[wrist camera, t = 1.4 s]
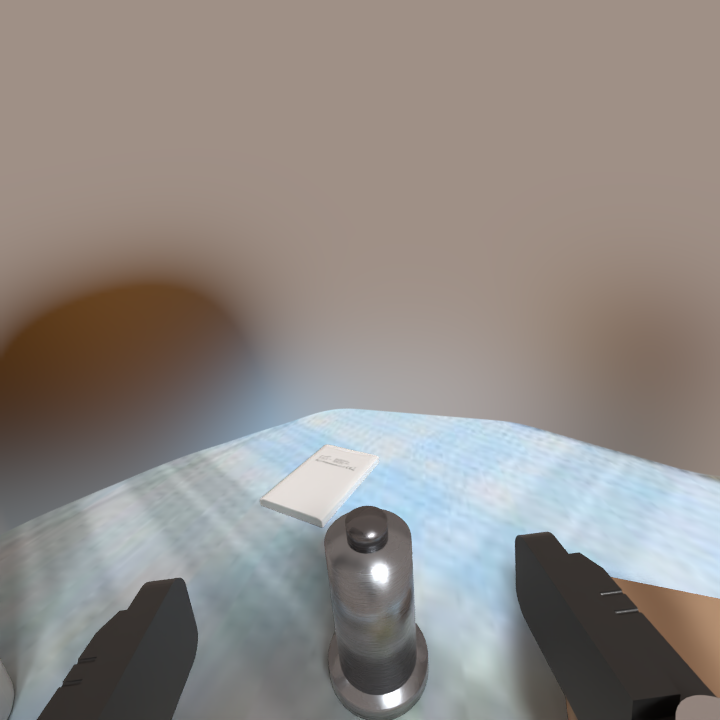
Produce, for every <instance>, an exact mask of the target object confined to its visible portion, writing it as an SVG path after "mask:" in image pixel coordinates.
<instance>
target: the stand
mask: <svg viewBox="0 0 720 720" xmlns="http://www.w3.org/2000/svg"><path fill="white" fill-rule="evenodd" d="M611 578H612V579H613V580H614V581H615V582H616V584H617V585H618V586H619V587H620V588H621V589H622V592H623V594H626V595H627V596H628V597H629V598H630V600H631V601H632V602H633V603H634V604H635V605H636V606H637V608H638V611H639V612H642V613H643V614H644V615H645V617H646V618H647V619H648V620H649V621H650V622H651V623H652V625H653V626H654V627H655V628H656V629H657V630H658V631H659V633H660V634H661V635H662V636H663V637H664V638H665V639H666V641H667V642H668V643H669V644H670V645H671V646H672V647H673V648H674V650H675V651H676V652H677V653H678V654H679V655H680V656H681V658H682V659H683V660H684V661H685V662H686V663H687V664H688V666H689V667H690V668H691V669H692V670H693V671H694V672H695V674H696V675H697V676H698V677H699V678H700V679H701V680H702V681H703V683H704V684H705V685H706V686H707V687H708V688H709V689H710V690H711V691H712V692H713V693H714V695H715V696H716V697H718V698H720V599H718V598H713V597H708V596H703V595H698V594H693V593H688V592H683V591H678V590H673V589H668V588H663V587H658V586H653V585H648V584H643V583H638V582H633V581H628V580H623V579H618V578H613V577H611ZM565 698H566V696H565ZM566 705H567V713H568V720H578V719H577V717H576V715H575V714H574V712H573V710H572V708H571V706H570V704H569V702H568V700H567V698H566Z"/></svg>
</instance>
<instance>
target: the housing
mask: <svg viewBox="0 0 720 720" xmlns="http://www.w3.org/2000/svg"><path fill="white" fill-rule="evenodd" d="M324 546H325V554H326V561H327V569H328V577H329V584H330V592H331V600H332V607H333V615H334V623H335V630H336V631H335V633H334V635H333V637H332V640H331V643H330V647H329V654H328V663H329V670H330V677H331V682H332V686H333V689H334V691H335V693H336V695H337V697H338V699H339V700H340V702H341V703H342V704H343V705H344V706H345V707H346V708H347V709H348V710H349V711H350V712H352V713H353V714H355V715H356V716H358V717H360V718H363V719H366V720H392V719H395V718H398V717H400V716H401V715H403V714H405V713H406V712H408V711H409V710H410V709H411V708H412V707H413V706H414V705H415V704H416V703H417V701H418V700H419V699H420V697H421V695H422V693H423V691H424V689H425V686H426V682H427V678H428V651H427V645H426V641H425V638H424V636H423V633H422V632H421V630H420V628H419V627H418V625H417V624H416V623H415V605H414V584H413V562H412V541H411V533H410V529H409V527H408V526H407V524H406V523H405V522H404V521H403V520H402V519H401V518H400V517H399V516H397V515H396V514H394V513H392V512H389V511H386V510H382V509H379V508H377V507H373V506H362V507H358V508H356V509H354V510H352V511H351V512H349V513H347V514H345V515H343V516H341V517H340V518H338V519H337V520H336V521H335V522H334V523H333V524H332V525H331V526H330V527H329V529H328V531H327V533H326V536H325V541H324Z"/></svg>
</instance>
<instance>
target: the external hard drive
mask: <svg viewBox="0 0 720 720" xmlns="http://www.w3.org/2000/svg"><path fill="white" fill-rule="evenodd" d="M378 463H379V457H377V456H375V455H371V454H367V453H363V452H358V451H354V450H349V449H345V448H341V447H337V446H332V445H324V446H323V447H322V448H321V449H320V450H319V451H317V452H316V453H315V454H314V455H312V456H311V457H310V458H309V459H308V460H306V461H305V462H304V463H303V464H302V465H300V466H299V467H298V468H297V469H296V470H294V471H293V472H292V473H291V474H290V475H288V476H287V477H286V478H285V479H283V480H282V481H281V482H280V483H279V484H277V485H276V486H275V487H274V488H273V489H272V490H270V491H269V492H268V493H267V494H266V495H264V496H263V497H262V498H261V499H260V502H261V506H263V507H266V508H269V509H272V510H275V511H277V512H280V513H283V514H286V515H288V516H291V517H294V518H297V519H299V520H302V521H305V522H308V523H310V524H313V525H316V526H319V527H321V528H323V527H324V526H325V525H326V524H327V522H328V521H329V520H330V519H331V518H332V517H333V515H334V514H335V513H336V512H337V511H338V510H339V508H340V507H341V506H342V505H343V504H344V503H345V502H346V500H347V499H348V498H349V497H350V496H351V495H352V493H353V492H354V491H355V490H356V489H357V488H358V486H359V485H360V484H361V483H362V482H363V481H364V480H365V478H366V477H367V476H368V475H369V474H370V473H371V471H372V470H373V469H374V468H375V467H376V466H377V465H378Z"/></svg>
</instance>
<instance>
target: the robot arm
mask: <svg viewBox="0 0 720 720" xmlns="http://www.w3.org/2000/svg"><path fill="white" fill-rule="evenodd" d="M515 563H516V592H517V597H518V601H519V605H520V608H521V611H522V613H523V616H524V618H525V620H526V622H527V624H528V626H529V628H530V630H531V632H532V633H533V635H534V637H535V639H536V641H537V643H538V645H539V647H540V649H541V651H542V653H543V654H544V656H545V658H546V660H547V662H548V664H549V666H550V668H551V670H552V672H553V674H554V675H555V677H556V679H557V681H558V683H559V685H560V687H561V689H562V691H563V693H564V694H565V696H566V698H567V700H568V702H569V704H570V706H571V708H572V710H573V712H574V714H575V715H576V717H577V719H578V720H720V698H718V697H716V696H715V695H714V693H713V692H712V691H711V690H710V689H709V688H708V687H707V686H706V685H705V684H704V683H703V681H702V680H701V679H700V678H699V677H698V676H697V675H696V674H695V672H694V671H693V670H692V669H691V668H690V667H689V666H688V664H687V663H686V662H685V661H684V660H683V659H682V658H681V656H680V655H679V654H678V653H677V652H676V651H675V650H674V648H673V647H672V646H671V645H670V644H669V643H668V642H667V641H666V639H665V638H664V637H663V636H662V635H661V634H660V633H659V631H658V630H657V629H656V628H655V627H654V626H653V625H652V623H651V622H650V621H649V620H648V619H647V618H646V617H645V615H644V614H643V613H642V612H639V611H638V608H637V606H636V605H635V604H634V603H633V602H632V601H631V600H630V598H629V597H628V596H627V595H626V594H623V592H622V589H621V588H620V587H619V586H618V585H617V584H616V582H615V581H614V580H613V579H612V578H611V577H610V576H609V575H608V573H607V572H606V571H605V570H604V569H603V568H602V567H600V566H599V565H597V564H596V563H594V562H593V561H591V560H590V559H588V558H587V557H585V556H584V555H582V554H581V553H572V554H568V553H567V551H566V550H565V549H564V548H563V546H562V545H561V544H560V543H559V541H558V540H557V539H556V538H555V536H554V535H553V534H552V533H550V532H541V533H533V534H526V535H518V536H517V537H516V539H515ZM197 643H198V632H197V626H196V622H195V618H194V614H193V611H192V607H191V603H190V599H189V595H188V592H187V588H186V584H185V582H184V580H183V579H182V578H174V579H167V580H159V581H151V582H147V583H145V584H144V585H143V586H142V588H141V589H140V591H139V592H138V594H137V595H136V597H135V598H134V600H133V602H132V603H131V605H130V606H129V608H128V609H127V610H122V611H119V612H118V613H117V614H116V615H115V616H114V617H113V618H112V619H111V620H110V621H108V622H107V623H106V624H105V625H104V626H103V627H102V628H101V629H100V630H99V631H98V632H97V633H96V634H95V635H94V637H93V638H92V640H91V641H90V643H89V644H88V646H87V647H86V649H85V650H84V652H83V653H82V654H81V656H80V657H79V659H78V663H77V664H75V665H74V666H73V668H72V669H71V671H70V672H69V673H68V675H67V676H66V678H65V679H64V681H63V685H62V687H60V688H58V689H57V691H56V692H55V694H54V695H53V697H52V698H51V700H50V701H49V703H48V704H47V706H46V707H45V708H44V710H43V711H42V713H41V714H40V716H39V717H38V719H37V720H171V719H172V717H173V714H174V712H175V709H176V706H177V704H178V701H179V699H180V696H181V693H182V691H183V688H184V686H185V683H186V680H187V678H188V675H189V673H190V670H191V667H192V665H193V662H194V659H195V655H196V651H197ZM13 700H14V688H13V683H12V681H11V679H10V677H9V675H8V673H7V671H6V669H5V667H4V665H3V663H2V661H1V659H0V720H7V719H8V717H9V715H10V712H11V710H12V705H13Z"/></svg>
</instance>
